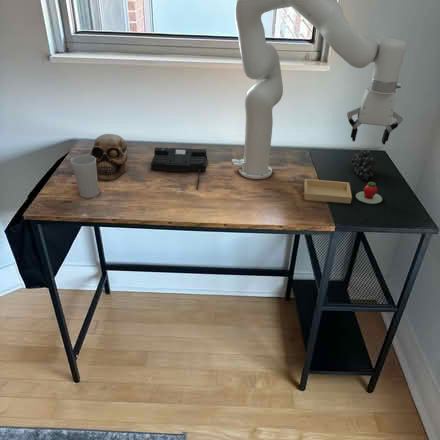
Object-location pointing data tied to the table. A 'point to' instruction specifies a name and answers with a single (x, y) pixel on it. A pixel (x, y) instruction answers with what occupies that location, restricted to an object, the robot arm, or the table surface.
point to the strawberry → (370, 190)
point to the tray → (327, 191)
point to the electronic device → (180, 160)
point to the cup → (86, 175)
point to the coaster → (375, 199)
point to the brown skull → (109, 156)
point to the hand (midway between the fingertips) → (368, 141)
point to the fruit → (364, 164)
